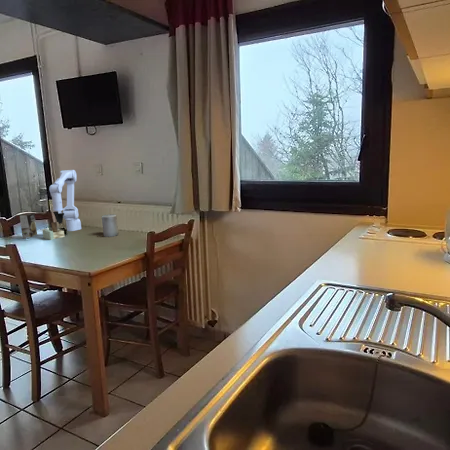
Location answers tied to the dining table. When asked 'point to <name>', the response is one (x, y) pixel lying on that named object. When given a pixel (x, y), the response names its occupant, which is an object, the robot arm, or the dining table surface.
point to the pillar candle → (110, 225)
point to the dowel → (54, 227)
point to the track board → (48, 234)
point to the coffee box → (28, 225)
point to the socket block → (58, 234)
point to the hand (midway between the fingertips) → (59, 222)
